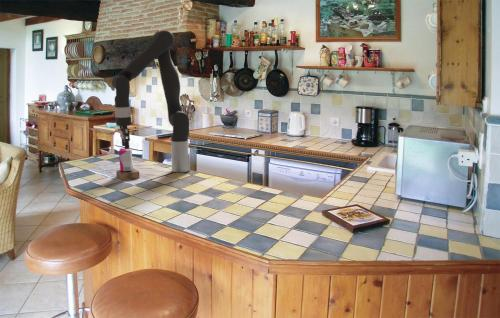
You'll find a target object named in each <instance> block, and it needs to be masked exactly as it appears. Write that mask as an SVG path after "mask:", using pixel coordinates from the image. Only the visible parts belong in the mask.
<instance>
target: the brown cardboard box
mask: <svg viewBox="0 0 500 318" xmlns="http://www.w3.org/2000/svg"><path fill="white" fill-rule="evenodd" d="M115 173H116V175H115V176H116V178H118V179H119V180H120V179H121V181H122V182H124V181H130V179H131V180H136V178H138V179H140V171H138V169H135V168H134V167H133V170H132V172H120V169H117V170H116V171H115Z"/></svg>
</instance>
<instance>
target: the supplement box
mask: <svg viewBox="0 0 500 318" xmlns="http://www.w3.org/2000/svg"><path fill="white" fill-rule="evenodd" d="M118 154H119V155H118V156H119V170H120V172H132V170H133V168H134V166H133V165H134V164H133V162H134V161H133V149H132V148H131V147H129V149H125V147H124V148H123V147H121V148H119V150H118Z"/></svg>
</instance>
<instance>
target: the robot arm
mask: <svg viewBox="0 0 500 318" xmlns="http://www.w3.org/2000/svg"><path fill="white" fill-rule="evenodd" d="M151 43H152V44H150V46H149V47H147V49H145V50H143V51H142V52H141V53H140V54H139V55H137V56H136V57H134V58H133V59H132V60H131V61H130V62H129V64H128V65H126V67H124V69H121V71H119V72H118V73H117V74H116V75H115V76H114V77H113V78H112V80H111V85H112V87H113V88H114V89H115V96H114V108H115V109H114V116H115V124H116V126H117V127H119V134H120V139H121V146H122V147H124V148H125V149H129V148H130V141H131V138H130V136H131V135H130V129H129V128H128V126H132V124H133V123H132V111H131V105H130V91H131V84H130V82H131V81H132V80H134V79H136V78H137V77H138V76H140V75H141V73H142V72H144V71H145V69H146V68H148V66H149V65H150V64H151V63H153V62H154V60H156V59H157V63H158V68H159V73H160V79H161V85H162V89H163V93H164V98H165V103H166V106H167V118H168V122H169V124H170V125H171V127H172V134H171V136H170V146H171V149H170V150H171V151H170V152H171V172H173V173H186V172H190V171H191V167H190V165H191V164H190V163H191V162H190V159H191V157H190V153H189V135H190V119H189V118H190V117H189V115H188V114H187V113H185V111H183V110H182V106H181V102H180V101H181V100H180V94H181V82H180V78H179V72H178V70H177V68H176V66H175V64H174V62H173V60H172V57H171V50H170V48H172V46H173V45H174V43H175V36H174V34H173V33H172V32H171V31H168V30H159V31H156V32H155V33H154V34H153V35H152V42H151Z"/></svg>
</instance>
